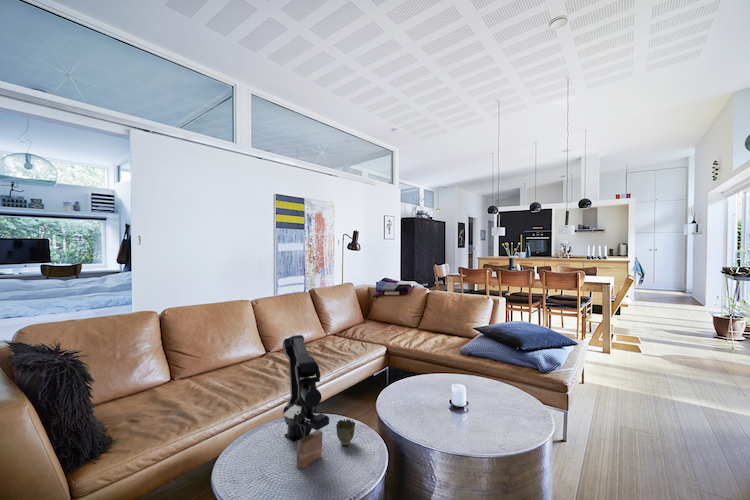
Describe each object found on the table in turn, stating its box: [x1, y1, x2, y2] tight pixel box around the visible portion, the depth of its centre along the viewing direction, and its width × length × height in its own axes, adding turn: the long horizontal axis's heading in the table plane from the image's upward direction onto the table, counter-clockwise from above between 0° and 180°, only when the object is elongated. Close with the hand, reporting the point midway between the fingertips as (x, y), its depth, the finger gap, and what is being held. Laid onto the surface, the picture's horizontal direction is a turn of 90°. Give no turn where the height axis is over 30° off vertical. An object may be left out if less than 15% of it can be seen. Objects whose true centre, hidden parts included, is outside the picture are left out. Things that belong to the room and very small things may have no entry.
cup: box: [335, 418, 356, 447], centre depth 128 cm, size 8×7×8 cm
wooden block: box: [295, 429, 324, 471], centre depth 117 cm, size 3×10×9 cm, turn 143°
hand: (305, 439), depth 119 cm, fingers closed
